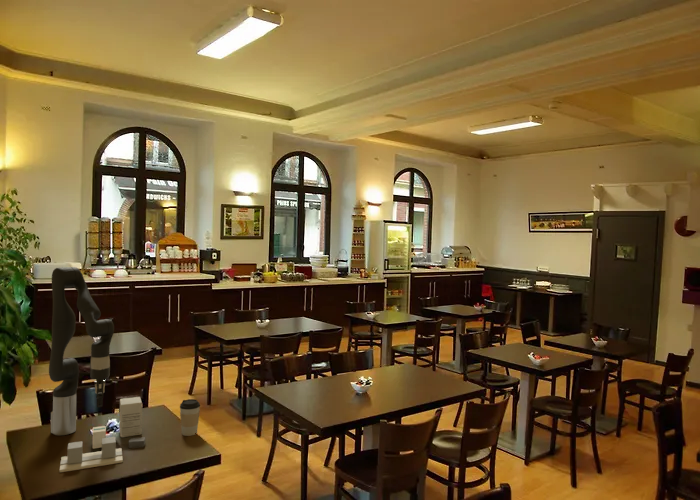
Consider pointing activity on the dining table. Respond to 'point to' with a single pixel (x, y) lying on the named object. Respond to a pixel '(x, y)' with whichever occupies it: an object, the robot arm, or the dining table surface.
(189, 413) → the coffee cup
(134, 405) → the supplement box
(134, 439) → the block
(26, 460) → the dining table surface
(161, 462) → the dining table surface
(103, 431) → the expansion module
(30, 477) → the dining table surface
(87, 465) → the board
